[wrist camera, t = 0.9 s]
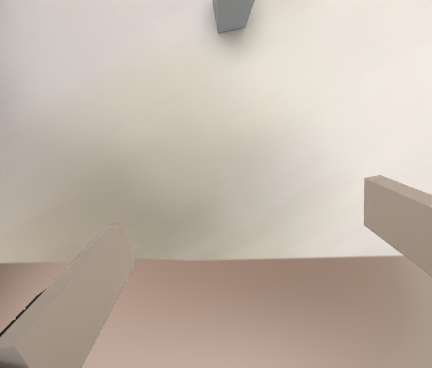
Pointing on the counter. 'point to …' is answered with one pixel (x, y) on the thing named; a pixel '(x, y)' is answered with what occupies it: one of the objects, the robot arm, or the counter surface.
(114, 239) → the robot arm
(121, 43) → the counter surface
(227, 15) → the tall blue pillar
